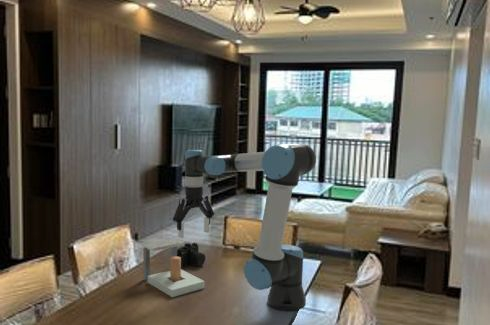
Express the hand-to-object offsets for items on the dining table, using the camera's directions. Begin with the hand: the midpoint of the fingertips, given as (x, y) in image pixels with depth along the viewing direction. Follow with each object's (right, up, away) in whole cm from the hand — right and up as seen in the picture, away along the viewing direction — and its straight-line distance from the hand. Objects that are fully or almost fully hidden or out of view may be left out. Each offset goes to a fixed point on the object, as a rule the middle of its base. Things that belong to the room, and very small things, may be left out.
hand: (194, 234), depth 192 cm
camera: (-4, -19, +26) cm, 33 cm away
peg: (-8, -22, 0) cm, 23 cm away
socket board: (-8, -22, 0) cm, 23 cm away
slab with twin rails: (-14, -21, +8) cm, 26 cm away
